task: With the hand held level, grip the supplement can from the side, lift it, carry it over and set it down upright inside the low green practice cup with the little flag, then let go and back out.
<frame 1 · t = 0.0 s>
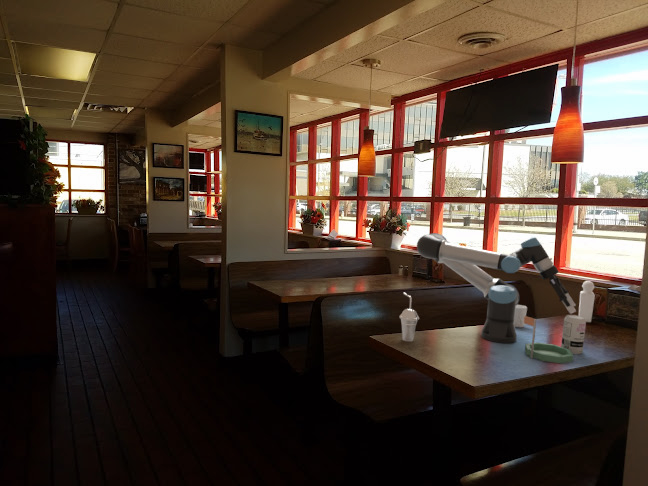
hand: (573, 309, 210), 15 cm above the table, tool tilted 35°, fingers open, 13 cm apart
cup with straw: (407, 340, 204), on the table
white cup: (516, 325, 238), on the table
practice cup: (548, 355, 192), on the table
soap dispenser: (584, 320, 255), on the table
supplement can: (571, 351, 199), on the table
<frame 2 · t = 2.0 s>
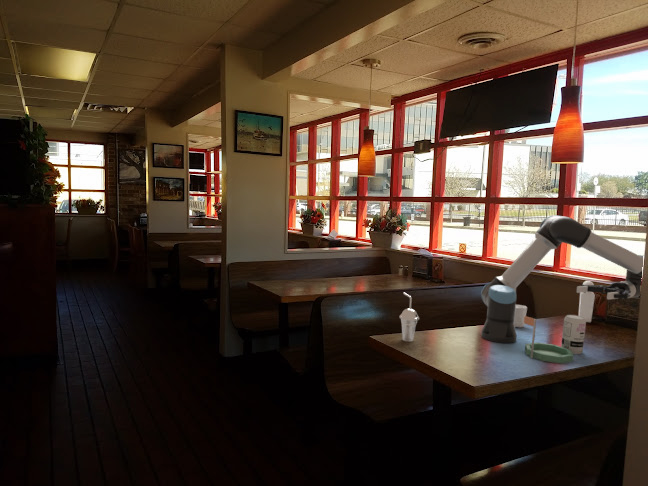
hand: (592, 292, 201), 25 cm above the table, tool horizontal, fingers open, 13 cm apart
nothing on the table moved.
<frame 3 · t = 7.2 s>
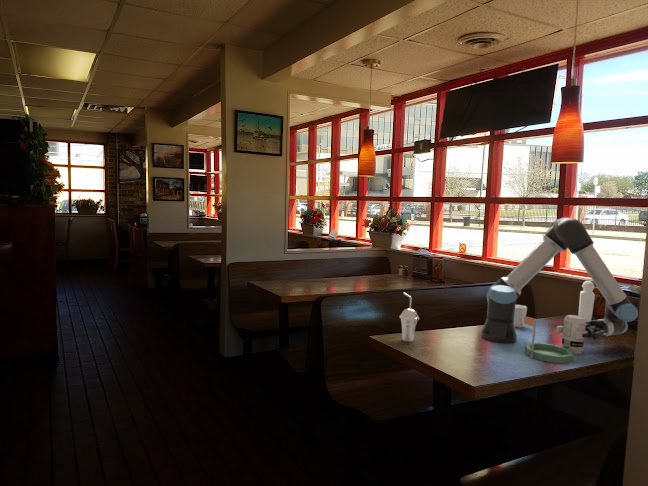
hand: (566, 332, 196), 9 cm above the table, tool horizontal, fingers closed on supplement can, 8 cm apart
supplement can: (571, 351, 199), on the table, touching gripper
everything else where it was.
when the fingers open (10 cm above the table, at t = 12.5 s): supplement can drops 1 cm, resting on practice cup.
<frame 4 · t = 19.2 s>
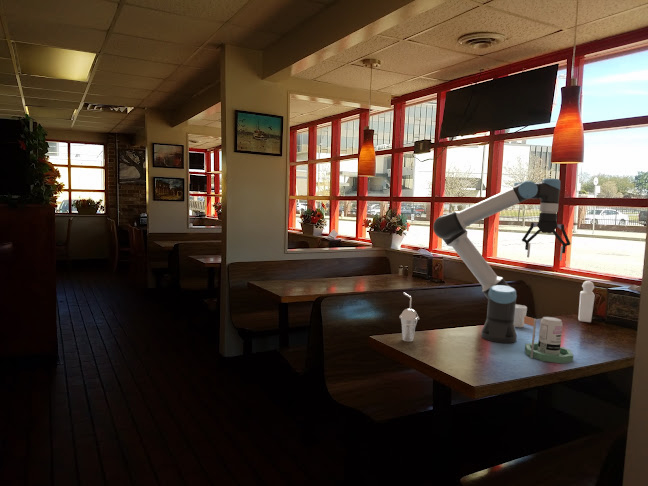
hand: (544, 258, 216), 37 cm above the table, tool pointing down, fingers open, 13 cm apart
supplement can: (548, 355, 192), resting on practice cup
everything else where it was.
at the end: supplement can 0.1 cm from the practice cup (horizontally); supplement can tilted 0°; the gripper is holding nothing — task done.
